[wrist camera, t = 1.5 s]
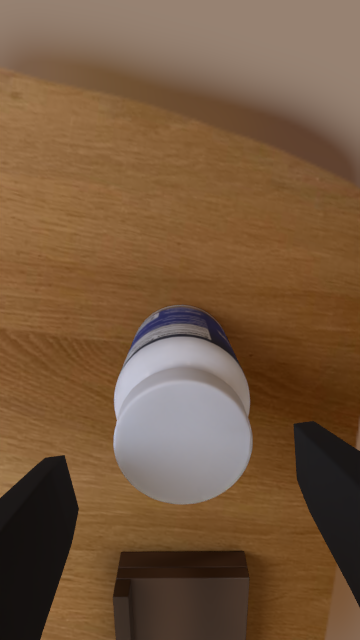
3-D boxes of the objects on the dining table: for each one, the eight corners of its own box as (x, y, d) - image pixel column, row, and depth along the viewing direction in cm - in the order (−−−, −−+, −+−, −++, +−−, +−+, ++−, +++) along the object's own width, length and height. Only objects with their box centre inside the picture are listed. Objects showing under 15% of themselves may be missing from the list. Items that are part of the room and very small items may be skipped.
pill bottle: (230, 385, 22) (272, 512, 12) (141, 395, 22) (110, 526, 12) (223, 297, 20) (264, 358, 10) (127, 307, 20) (80, 377, 11)
